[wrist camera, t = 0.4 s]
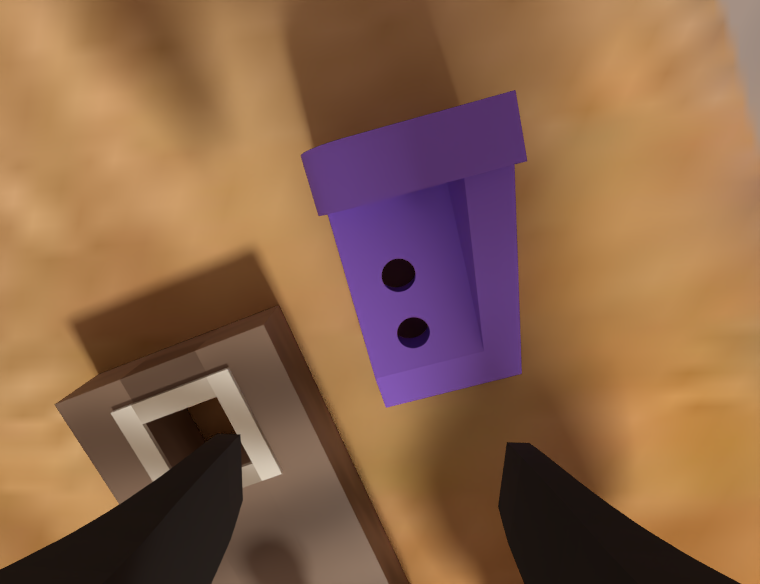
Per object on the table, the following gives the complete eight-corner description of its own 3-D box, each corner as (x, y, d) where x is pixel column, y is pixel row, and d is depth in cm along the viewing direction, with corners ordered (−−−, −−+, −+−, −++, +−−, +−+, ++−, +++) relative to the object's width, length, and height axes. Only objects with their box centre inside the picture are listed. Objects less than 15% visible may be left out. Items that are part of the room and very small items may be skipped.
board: (416, 600, 25) (423, 658, 22) (266, 649, 26) (251, 712, 23) (278, 305, 20) (262, 326, 17) (98, 374, 21) (51, 406, 18)
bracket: (319, 164, 19) (292, 152, 12) (464, 124, 19) (515, 90, 12) (385, 392, 22) (391, 481, 15) (511, 360, 22) (573, 437, 15)
